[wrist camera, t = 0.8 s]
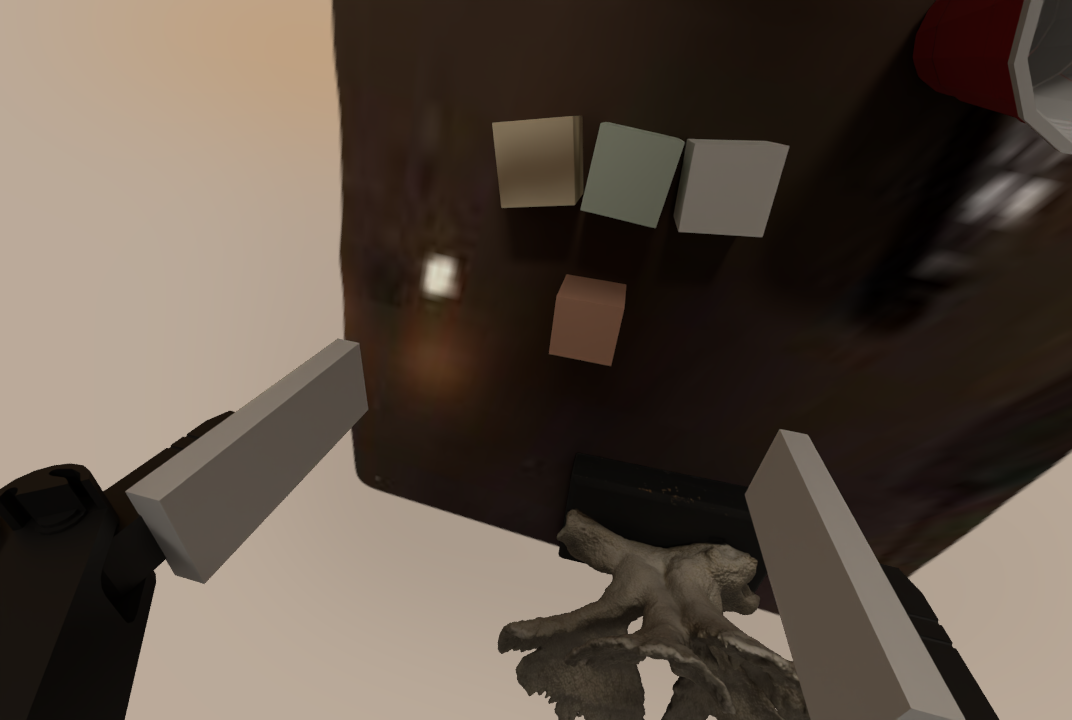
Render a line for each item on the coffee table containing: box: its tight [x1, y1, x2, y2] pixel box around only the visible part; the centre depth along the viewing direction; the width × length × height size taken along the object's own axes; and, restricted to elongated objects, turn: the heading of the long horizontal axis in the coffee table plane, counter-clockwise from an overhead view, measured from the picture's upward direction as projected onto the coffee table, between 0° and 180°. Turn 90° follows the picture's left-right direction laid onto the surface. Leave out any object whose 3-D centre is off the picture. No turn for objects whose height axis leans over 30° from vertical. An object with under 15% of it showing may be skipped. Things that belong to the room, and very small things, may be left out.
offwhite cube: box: [673, 139, 789, 237], centre depth 27 cm, size 5×5×5 cm
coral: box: [498, 453, 811, 720], centre depth 36 cm, size 25×20×22 cm
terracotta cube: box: [549, 274, 626, 366], centre depth 33 cm, size 5×5×5 cm
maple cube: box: [492, 116, 583, 208], centre depth 28 cm, size 5×5×5 cm
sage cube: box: [580, 122, 685, 228], centre depth 27 cm, size 5×5×5 cm
